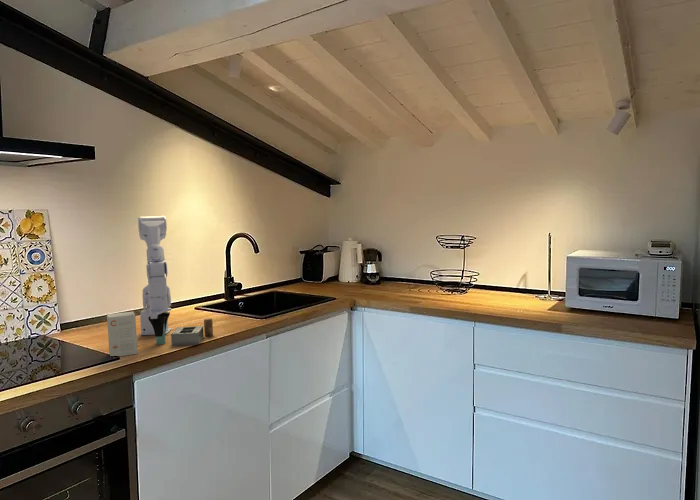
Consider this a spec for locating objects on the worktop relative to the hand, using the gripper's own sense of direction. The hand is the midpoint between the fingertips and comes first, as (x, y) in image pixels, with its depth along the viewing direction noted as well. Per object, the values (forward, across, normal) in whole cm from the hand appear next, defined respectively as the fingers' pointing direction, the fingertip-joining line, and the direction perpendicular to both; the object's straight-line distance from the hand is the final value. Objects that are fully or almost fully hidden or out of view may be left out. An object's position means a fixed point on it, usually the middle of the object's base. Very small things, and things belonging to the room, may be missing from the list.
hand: (160, 335), depth 174 cm
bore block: (+3, +1, -9) cm, 10 cm away
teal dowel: (+3, 0, 0) cm, 3 cm away
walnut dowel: (+3, +8, -15) cm, 17 cm away
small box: (+3, -11, +9) cm, 15 cm away
